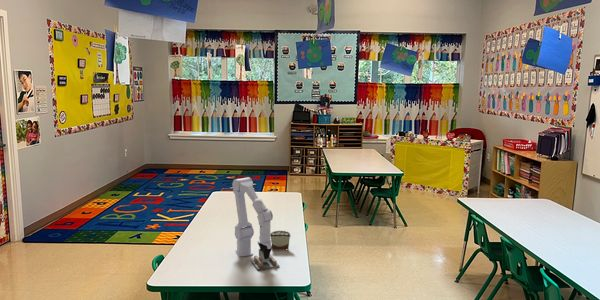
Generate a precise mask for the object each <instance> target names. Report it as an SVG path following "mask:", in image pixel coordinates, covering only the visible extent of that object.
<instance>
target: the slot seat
mask: <svg viewBox="0 0 600 300" xmlns="http://www.w3.org/2000/svg"><path fill="white" fill-rule="evenodd" d="M250 262H251V264H252V265H253V266H254V268H255V269H256V270H257V271H258V272H260V271H266V270H271V269H272V268H273V269H277V267H279V268H280V265H279V263H277V260H276V258H274V257H273V255H272V254H270V262H265V263H262V261H261V260H260V259H259V256H257V255H253V259H252V260H251V261H250Z"/></svg>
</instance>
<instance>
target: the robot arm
mask: <svg viewBox="0 0 600 300" xmlns="http://www.w3.org/2000/svg"><path fill="white" fill-rule="evenodd" d="M231 186H232V192H233V194H234V198H235V205H236V212H237V213H236V214H237V221H238V223H237V224H236V225H235V226H234V236H235V239H236V249H235V250H234V251H235V253H236V254H237V255H238V257H240V258H241V257H247V256H254V253H253V252H252V250H251V247H252V244H251V243H252V240H251V239H252V238H253V236H254V235H255V234H254V233H255V231H254V228H253V224H252V223H251V222H250V221H249V220H248V213H247V206H246V198H245V197H246V196H245V194H246V195H247V196H248V198H249V199H250V200H251V202H252V205H251V206H252V207H253V209H254V210H255V213H256V214H257V220H258V225H259V237H258V239H259V240H257V245H258V247H259V249H263V252H264V258H265V259H269V255H271V252H272V251H273V250H272V248H273V247H272V243H271V236H270V234H271V221H273V218H274V215H273V212H272V210H271V209H269V208H267V207H266V205H265V203H264V202H263V200H262V199H260V198H258V195H257V193H256V190H255V189H254V182H253V179H252V178H251V177H249V176H247V177H244V178H234V179H233V180H232V185H231Z"/></svg>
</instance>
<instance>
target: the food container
mask: <svg viewBox="0 0 600 300" xmlns="http://www.w3.org/2000/svg"><path fill="white" fill-rule="evenodd" d="M291 236H292V235H291V233H290V231H287V230H274V231H272V232H270V240H271V246H272V247H273V248H272V250H271V251H287V250H286V249H288V250H289V246H290V238H291Z"/></svg>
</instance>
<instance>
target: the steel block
mask: <svg viewBox="0 0 600 300" xmlns="http://www.w3.org/2000/svg"><path fill="white" fill-rule="evenodd" d="M270 255H271V254H270ZM270 255H269V259H265V258H264V252H263V249H260V248H259V249H258V258H259V259H260V260H261V261H262V263H265V262H270Z"/></svg>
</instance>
